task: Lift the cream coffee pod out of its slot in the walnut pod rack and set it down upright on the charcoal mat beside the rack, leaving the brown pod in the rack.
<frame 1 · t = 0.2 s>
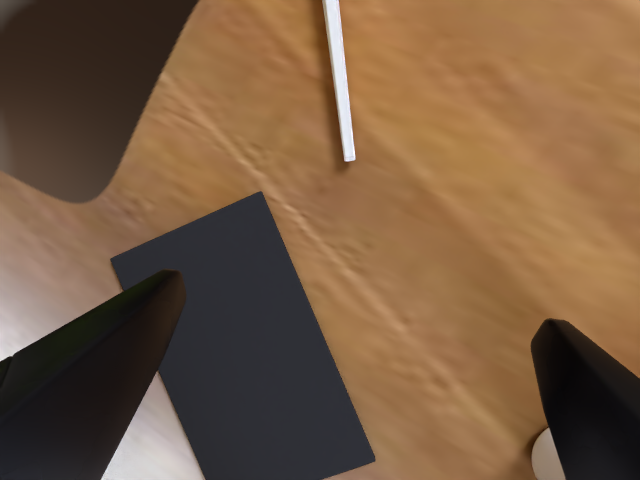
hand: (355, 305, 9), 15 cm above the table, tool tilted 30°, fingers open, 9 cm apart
mat: (241, 355, 25), on the table
drinking glass: (568, 453, 23), on the table
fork: (331, 10, 23), on the table
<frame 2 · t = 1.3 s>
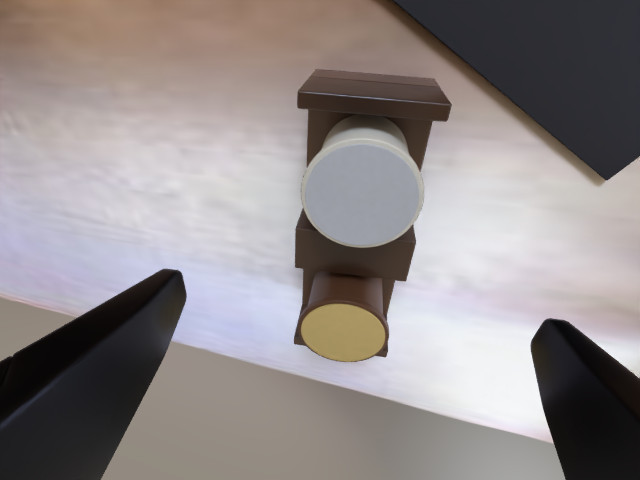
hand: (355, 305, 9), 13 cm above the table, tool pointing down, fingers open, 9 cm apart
pod rack: (356, 207, 22), on the table
coffee pod: (364, 156, 18), point 2 cm above the table, touching pod rack
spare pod: (348, 278, 23), point 2 cm above the table, touching pod rack
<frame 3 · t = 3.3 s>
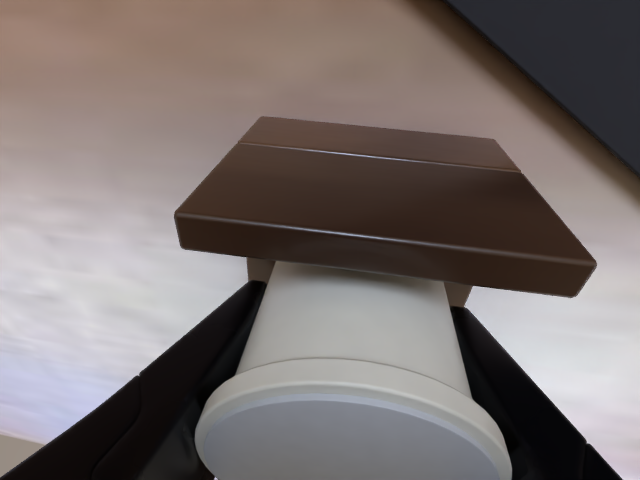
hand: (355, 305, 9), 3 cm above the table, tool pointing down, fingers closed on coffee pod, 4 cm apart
pod rack: (344, 328, 13), on the table
coffee pod: (355, 283, 9), point 2 cm above the table, touching gripper, pod rack
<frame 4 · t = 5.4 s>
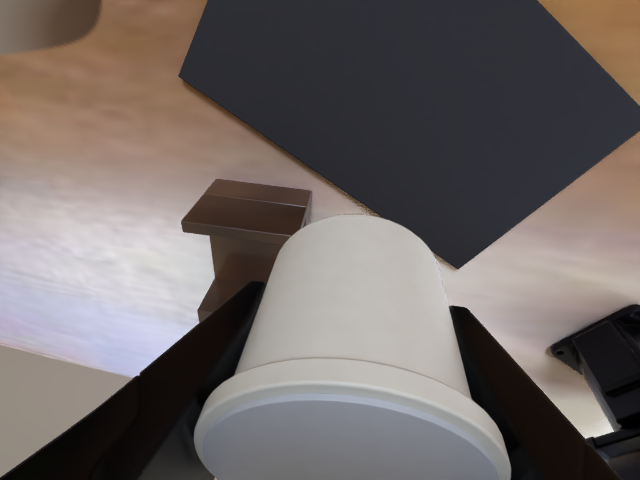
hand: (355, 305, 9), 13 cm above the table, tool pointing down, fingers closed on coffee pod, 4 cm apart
mat: (405, 95, 18), on the table
pod rack: (265, 278, 26), on the table
coffee pod: (354, 283, 9), point 12 cm above the table, touching gripper
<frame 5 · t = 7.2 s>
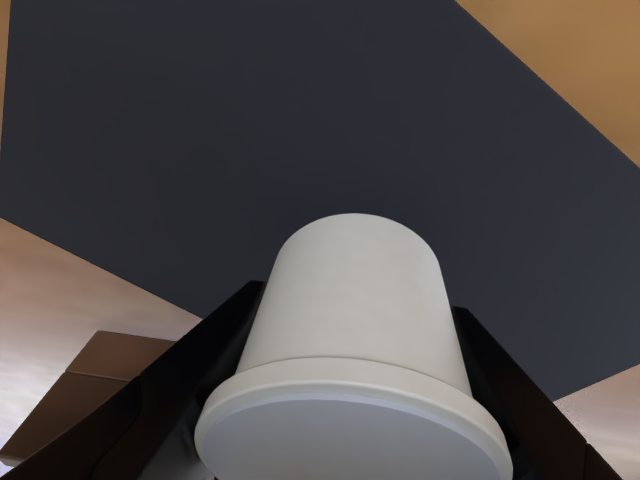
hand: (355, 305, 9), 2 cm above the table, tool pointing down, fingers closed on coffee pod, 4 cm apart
mat: (357, 246, 11), on the table
pod rack: (193, 430, 19), on the table
coffee pod: (355, 282, 9), point 2 cm above the table, touching gripper
when the fingers open (1 cm above the table, at t = 7.9 s): coffee pod stays where it is, resting on mat.
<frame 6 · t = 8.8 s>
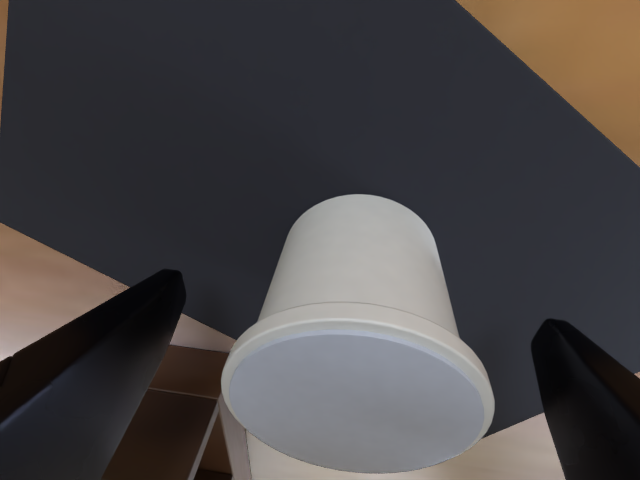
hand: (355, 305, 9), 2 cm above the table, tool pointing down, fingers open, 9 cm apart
mat: (359, 251, 11), on the table
pod rack: (193, 434, 19), on the table
coffee pod: (358, 259, 10), resting on mat
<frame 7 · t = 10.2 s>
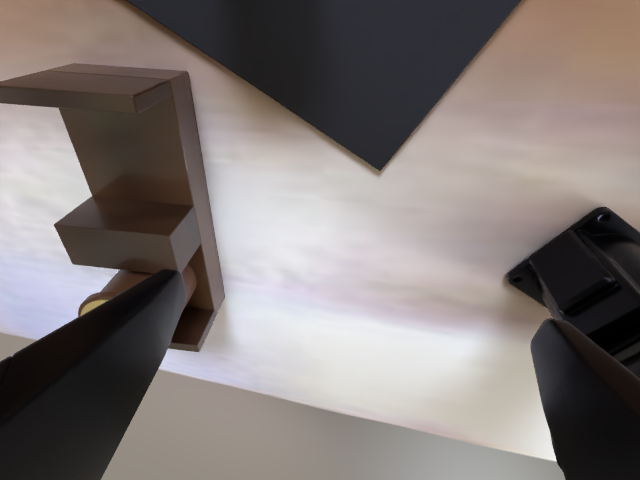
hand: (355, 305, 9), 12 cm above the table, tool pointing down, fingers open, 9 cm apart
pod rack: (164, 203, 22), on the table
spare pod: (163, 274, 23), point 2 cm above the table, touching pod rack
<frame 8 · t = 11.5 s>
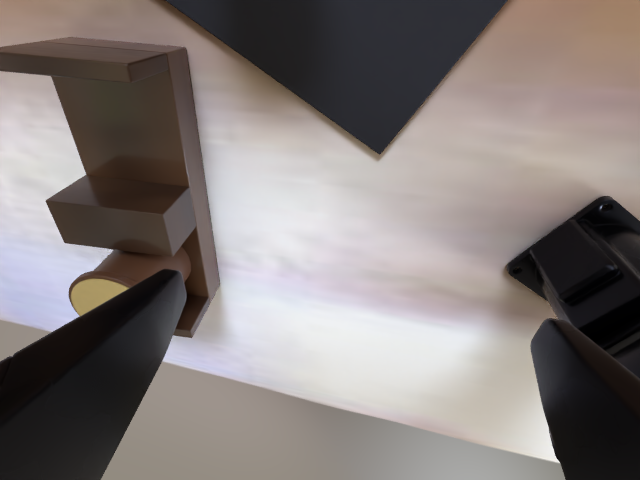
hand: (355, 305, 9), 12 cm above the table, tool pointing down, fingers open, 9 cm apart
pod rack: (160, 185, 22), on the table
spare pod: (158, 258, 22), point 2 cm above the table, touching pod rack
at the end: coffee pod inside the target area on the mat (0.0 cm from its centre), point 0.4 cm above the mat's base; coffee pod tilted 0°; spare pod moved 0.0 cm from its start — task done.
